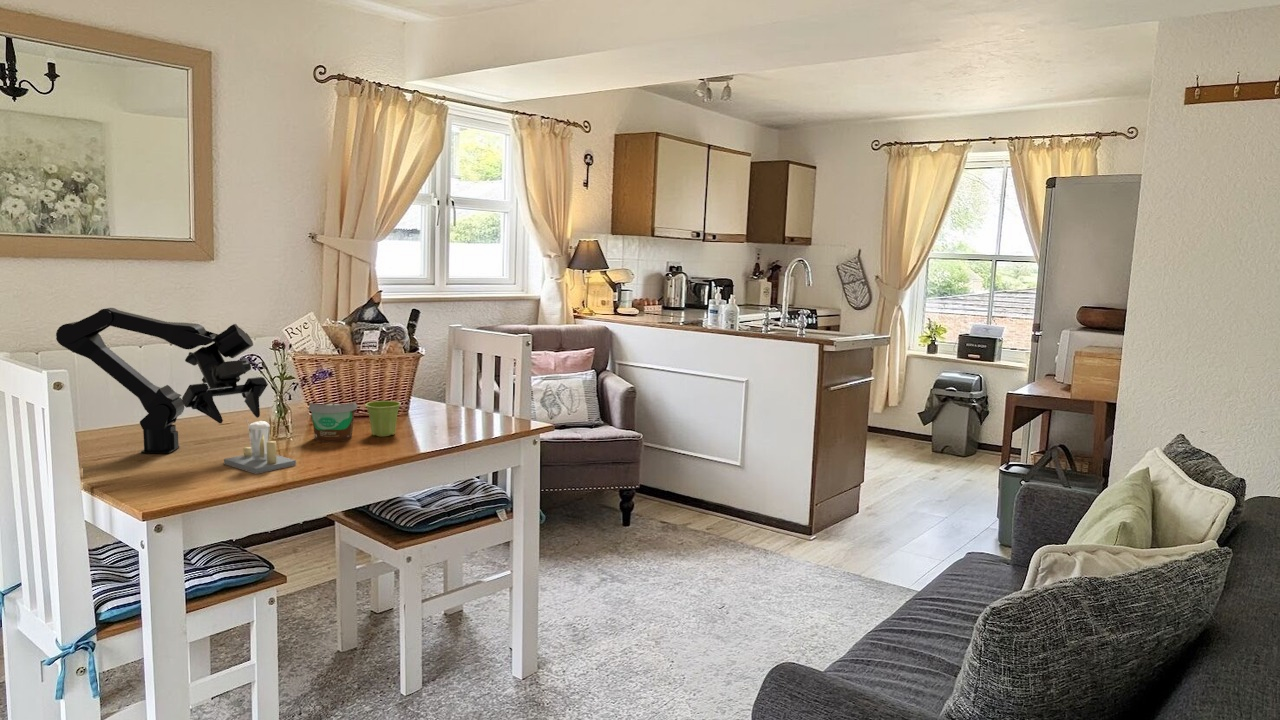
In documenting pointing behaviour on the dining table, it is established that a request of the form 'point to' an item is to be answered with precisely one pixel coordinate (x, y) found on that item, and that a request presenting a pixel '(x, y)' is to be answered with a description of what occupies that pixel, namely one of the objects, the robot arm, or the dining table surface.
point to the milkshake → (259, 439)
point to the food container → (333, 421)
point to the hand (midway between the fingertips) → (240, 419)
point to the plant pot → (383, 417)
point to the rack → (260, 466)
